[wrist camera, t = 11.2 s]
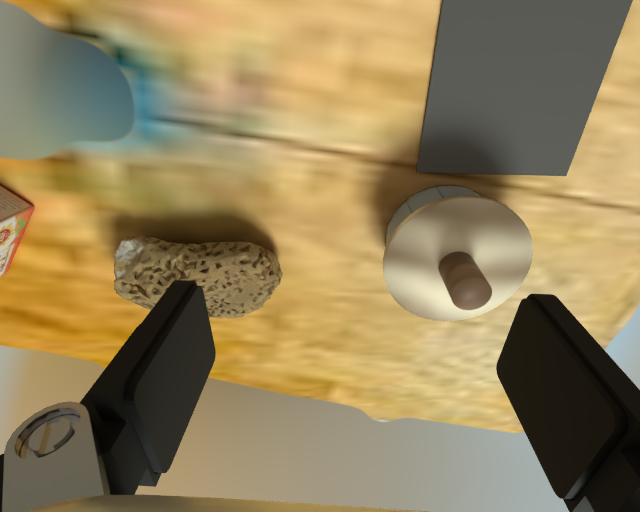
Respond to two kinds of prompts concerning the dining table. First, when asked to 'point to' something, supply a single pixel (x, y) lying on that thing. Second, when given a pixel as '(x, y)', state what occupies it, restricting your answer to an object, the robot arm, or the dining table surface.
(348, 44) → the dining table surface
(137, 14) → the dining table surface
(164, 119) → the dining table surface
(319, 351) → the dining table surface
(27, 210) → the cracker box
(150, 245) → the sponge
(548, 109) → the mat
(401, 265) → the lid
